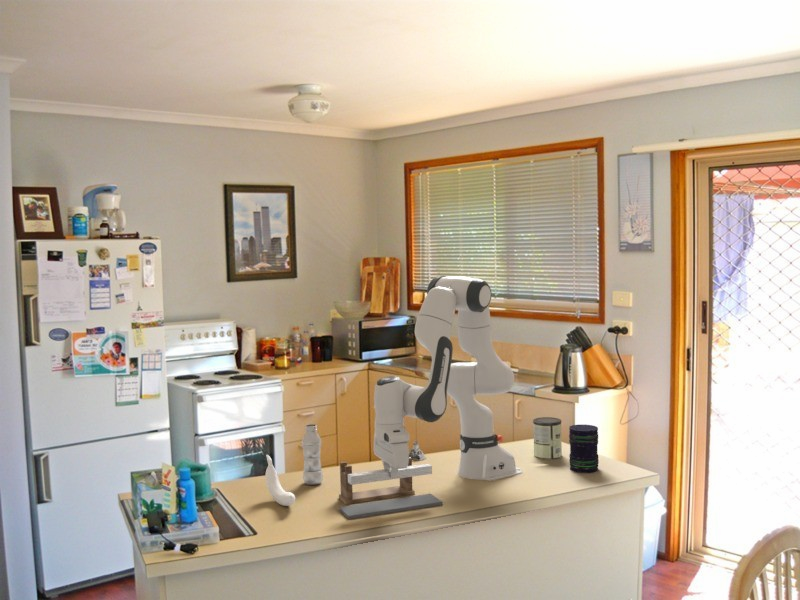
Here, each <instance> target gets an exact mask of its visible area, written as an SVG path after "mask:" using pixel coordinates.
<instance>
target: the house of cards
mask: <svg viewBox="0 0 800 600" xmlns="http://www.w3.org/2000/svg"><path fill="white" fill-rule="evenodd" d="M419 447H420V446H419V442H418V440H417V439H416V440H414V442H413V448H411V449H410V451H409V457H411V458H412V460H415V461H420V462H421V461H424V460H426V459H427V458H426V456H425V453H424V452H423V450H421V449H420V448H419Z"/></svg>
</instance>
